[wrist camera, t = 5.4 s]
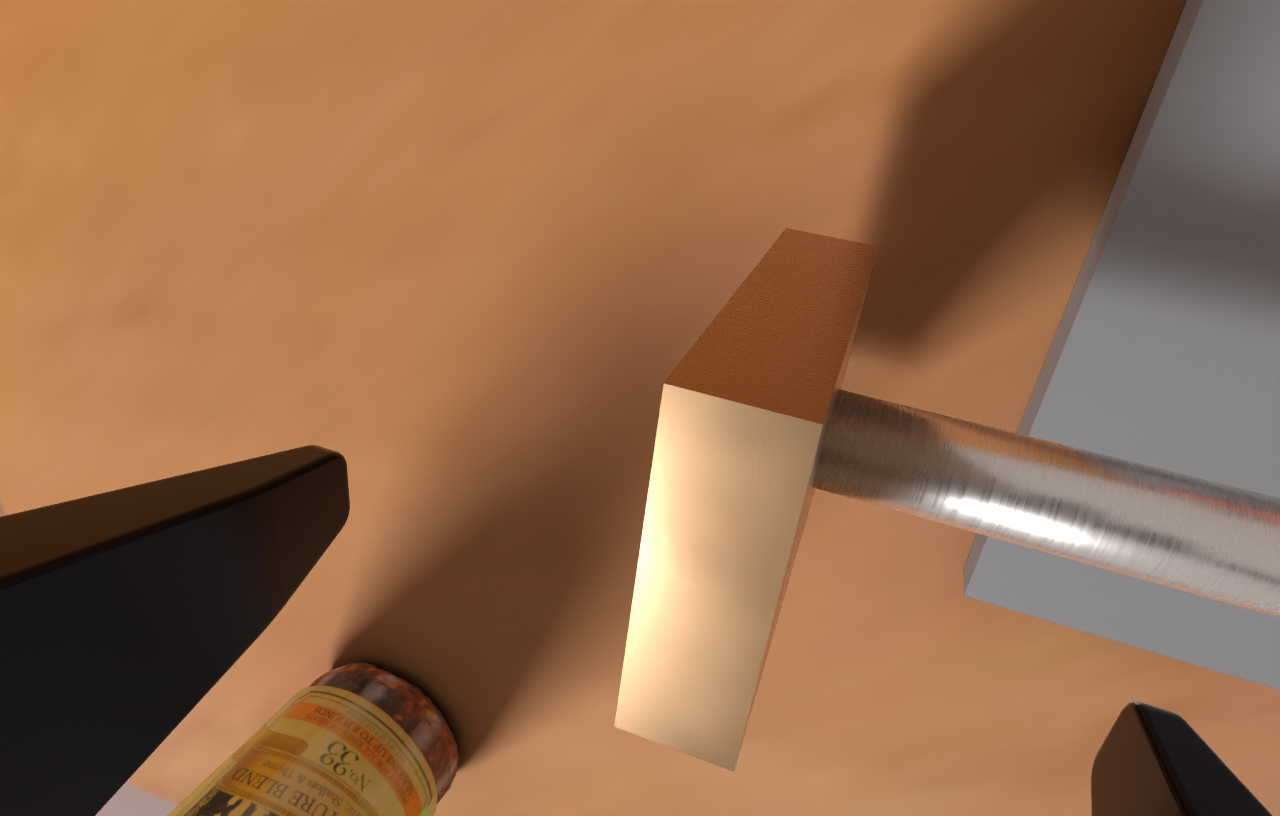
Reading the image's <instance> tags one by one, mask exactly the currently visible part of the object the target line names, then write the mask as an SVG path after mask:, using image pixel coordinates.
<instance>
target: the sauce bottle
mask: <svg viewBox="0 0 1280 816" xmlns="http://www.w3.org/2000/svg"><path fill="white" fill-rule="evenodd" d="M458 762H459V754H458V748H457V745H456V742H455V739H454V736H453V734H452V732H451V730H450V729H449V727H448V724H447V722H446V721H445V719H444V717H443V716H442V714H441V712H440V711H439V710H438V709H437V708H436V707H435V706H434V705H433V704H432V702H431V700H430V699H429V698H428V697H427V696H425V695H424V694H423V693H422V692H421V690H420V689H419V688H418V687H416V686H414V685H412V684H410V683H409V682H407V681H406V680H404V679H402V678H399V677H397V676H394V675H393V674H392V673H390V672H387V671H385V670H382V669H379V668H377V667H376V666H375V665H373V664H367V663H365V662H356V663H354V662H351V663H349V664H346V665H344V666H342V667H339V668H335V669H334V670H332V671H330V672H327V673H325V674H323V675H322V676H321V677H319V678H318V679H317V680H315V681H314V682H313V683H312V684H311V685H310V686H309V687H307V688H305V689H303V690H301V691H299V692H298V693H297V694H296V695H295V696H293V697H292V698H291V699H290V700H289V701H288V702H287V703H286V704H285V705H284V706H283V707H282V708H281V709H280V710H279V711H278V712H277V713H275V714H274V715H273V716H272V717H271V718H270V719H269V720H268V721H267V722H266V723H265V724H264V725H263V726H262V727H261V728H260V729H259V730H258V731H257V732H256V733H255V734H254V735H253V736H252V737H250V738H249V739H248V740H247V741H246V742H245V743H244V744H243V745H242V746H241V747H240V748H239V749H238V750H237V751H236V752H235V753H234V754H233V755H231V756H230V757H229V758H228V759H227V760H226V761H225V762H224V763H223V764H222V765H221V766H220V767H218V768H217V769H216V770H215V771H214V772H213V773H212V774H211V775H210V776H209V777H208V778H207V779H206V780H205V781H204V782H203V783H201V784H200V785H199V786H198V787H197V788H196V789H195V790H194V791H193V792H192V793H191V794H190V795H189V796H188V797H187V798H186V799H185V800H184V801H182V802H181V803H180V804H179V805H178V806H177V807H176V808H175V809H174V810H173V811H172V812H171V813H170V814H169V815H168V816H433V814H434V812H435V809H436V805H437V804H438V802H439V801H440V800H441V798H442V797H443V796H444V795H445V793H446V792H447V791H448V790H449V788H450V787H451V784H452V782H453V779H454V777H455V775H456V772H457V768H458Z"/></svg>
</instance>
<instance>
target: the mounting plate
mask: <svg viewBox="0 0 1280 816" xmlns="http://www.w3.org/2000/svg"><path fill="white" fill-rule="evenodd" d="M1017 433H1018V434H1022V435H1026V436H1030V437H1034V438H1038V439H1042V440H1046V441H1050V442H1054V443H1058V444H1062V445H1066V446H1070V447H1074V448H1079V449H1083V450H1087V451H1091V452H1095V453H1099V454H1103V455H1107V456H1111V457H1115V458H1119V459H1123V460H1127V461H1131V462H1135V463H1139V464H1143V465H1147V466H1151V467H1155V468H1160V469H1164V470H1168V471H1172V472H1176V473H1180V474H1184V475H1188V476H1192V477H1196V478H1200V479H1204V480H1208V481H1212V482H1216V483H1220V484H1224V485H1228V486H1232V487H1236V488H1240V489H1245V490H1249V491H1253V492H1257V493H1261V494H1265V495H1269V496H1273V497H1277V498H1280V0H1187V2H1186V4H1185V7H1184V9H1183V12H1182V14H1181V17H1180V19H1179V22H1178V24H1177V27H1176V30H1175V32H1174V35H1173V37H1172V40H1171V42H1170V45H1169V47H1168V50H1167V52H1166V55H1165V58H1164V60H1163V63H1162V65H1161V68H1160V70H1159V73H1158V75H1157V78H1156V80H1155V83H1154V86H1153V88H1152V91H1151V93H1150V96H1149V98H1148V101H1147V103H1146V106H1145V108H1144V111H1143V113H1142V116H1141V119H1140V121H1139V124H1138V126H1137V129H1136V131H1135V134H1134V136H1133V139H1132V141H1131V144H1130V147H1129V149H1128V152H1127V154H1126V157H1125V159H1124V162H1123V164H1122V167H1121V169H1120V172H1119V175H1118V177H1117V180H1116V182H1115V185H1114V187H1113V190H1112V192H1111V195H1110V197H1109V200H1108V202H1107V205H1106V208H1105V210H1104V213H1103V215H1102V218H1101V220H1100V223H1099V225H1098V228H1097V230H1096V233H1095V236H1094V238H1093V241H1092V243H1091V246H1090V248H1089V251H1088V253H1087V256H1086V258H1085V261H1084V264H1083V266H1082V269H1081V271H1080V274H1079V276H1078V279H1077V281H1076V284H1075V286H1074V289H1073V291H1072V294H1071V297H1070V299H1069V302H1068V304H1067V307H1066V309H1065V312H1064V314H1063V317H1062V319H1061V322H1060V325H1059V327H1058V330H1057V332H1056V335H1055V337H1054V340H1053V342H1052V345H1051V347H1050V350H1049V353H1048V355H1047V358H1046V360H1045V363H1044V365H1043V368H1042V370H1041V373H1040V375H1039V378H1038V381H1037V383H1036V386H1035V388H1034V391H1033V393H1032V396H1031V398H1030V401H1029V403H1028V406H1027V408H1026V411H1025V414H1024V416H1023V419H1022V421H1021V424H1020V426H1019V429H1018V431H1017ZM963 572H964V596H967V597H970V598H974V599H977V600H980V601H984V602H987V603H990V604H994V605H997V606H1001V607H1004V608H1007V609H1011V610H1014V611H1017V612H1021V613H1024V614H1027V615H1031V616H1034V617H1037V618H1041V619H1044V620H1047V621H1051V622H1054V623H1057V624H1061V625H1064V626H1067V627H1071V628H1074V629H1077V630H1081V631H1084V632H1087V633H1091V634H1094V635H1097V636H1101V637H1104V638H1108V639H1111V640H1114V641H1118V642H1121V643H1124V644H1128V645H1131V646H1134V647H1138V648H1141V649H1144V650H1148V651H1151V652H1154V653H1158V654H1161V655H1164V656H1168V657H1171V658H1174V659H1178V660H1181V661H1184V662H1188V663H1191V664H1194V665H1198V666H1201V667H1204V668H1208V669H1211V670H1215V671H1218V672H1221V673H1225V674H1228V675H1231V676H1235V677H1238V678H1241V679H1245V680H1248V681H1251V682H1255V683H1258V684H1261V685H1265V686H1268V687H1271V688H1275V689H1278V690H1280V618H1279V617H1275V616H1271V615H1268V614H1264V613H1261V612H1257V611H1254V610H1250V609H1246V608H1243V607H1239V606H1236V605H1232V604H1228V603H1225V602H1221V601H1218V600H1214V599H1211V598H1207V597H1203V596H1200V595H1196V594H1193V593H1189V592H1186V591H1182V590H1178V589H1175V588H1171V587H1168V586H1164V585H1160V584H1157V583H1153V582H1150V581H1146V580H1143V579H1139V578H1135V577H1132V576H1128V575H1125V574H1121V573H1118V572H1114V571H1110V570H1107V569H1103V568H1100V567H1096V566H1092V565H1089V564H1085V563H1082V562H1078V561H1075V560H1071V559H1067V558H1064V557H1060V556H1057V555H1053V554H1050V553H1046V552H1042V551H1039V550H1035V549H1032V548H1028V547H1025V546H1021V545H1017V544H1014V543H1010V542H1007V541H1003V540H999V539H996V538H992V537H989V536H985V535H982V534H978V533H977V536H976V538H975V541H974V543H973V546H972V548H971V551H970V553H969V556H968V559H967V561H966V564H965V566H964V569H963Z"/></svg>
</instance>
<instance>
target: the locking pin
mask: <svg viewBox="0 0 1280 816" xmlns="http://www.w3.org/2000/svg"><path fill="white" fill-rule="evenodd" d="M877 251H878V247H877V246H872V245H867V244H862V243H857V242H852V241H847V240H842V239H837V238H832V237H827V236H822V235H817V234H812V233H807V232H802V231H797V230H792V229H788V228H786V229H785V230H784V232H783V233H782V234H781V235H780V237H779V238H778V239H777V241H776V242H775V243H774V244H773V246H772V247H771V248H770V249H769V251H768V252H767V253H766V254H765V256H764V257H763V258H762V260H761V261H760V262H759V263H758V265H757V266H756V267H755V268H754V270H753V271H752V272H751V273H750V275H749V276H748V277H747V279H746V280H745V281H744V282H743V284H742V285H741V286H740V287H739V289H738V290H737V291H736V292H735V294H734V295H733V296H732V298H731V299H730V300H729V301H728V303H727V304H726V305H725V306H724V308H723V309H722V310H721V311H720V313H719V314H718V315H717V316H716V318H715V319H714V320H713V322H712V323H711V324H710V325H709V327H708V328H707V329H706V330H705V332H704V333H703V334H702V335H701V337H700V338H699V339H698V341H697V342H696V343H695V344H694V346H693V347H692V348H691V349H690V351H689V352H688V353H687V354H686V356H685V357H684V358H683V360H682V361H681V362H680V363H679V365H678V366H677V367H676V368H675V370H674V371H673V372H672V373H671V375H670V376H669V377H668V379H667V380H666V381H665V382H664V385H663V392H662V399H661V406H660V413H659V420H658V427H657V434H656V441H655V448H654V455H653V462H652V469H651V476H650V482H649V489H648V496H647V503H646V510H645V517H644V524H643V531H642V538H641V545H640V552H639V559H638V566H637V573H636V580H635V587H634V594H633V601H632V608H631V615H630V622H629V629H628V636H627V643H626V650H625V657H624V664H623V671H622V678H621V685H620V692H619V699H618V706H617V713H616V720H615V727H617V728H619V729H622V730H625V731H627V732H630V733H633V734H635V735H638V736H641V737H643V738H646V739H649V740H651V741H654V742H657V743H659V744H662V745H665V746H667V747H670V748H672V749H675V750H678V751H680V752H683V753H686V754H688V755H691V756H694V757H696V758H699V759H702V760H704V761H707V762H710V763H712V764H715V765H718V766H720V767H723V768H726V769H728V770H731V771H733V772H734V769H735V766H736V762H737V759H738V755H739V752H740V748H741V745H742V741H743V738H744V734H745V731H746V727H747V724H748V720H749V717H750V713H751V710H752V706H753V703H754V699H755V696H756V692H757V689H758V685H759V682H760V679H761V675H762V672H763V668H764V665H765V661H766V658H767V654H768V651H769V647H770V644H771V640H772V637H773V633H774V630H775V626H776V623H777V619H778V616H779V612H780V609H781V605H782V602H783V598H784V595H785V591H786V588H787V584H788V581H789V577H790V574H791V571H792V567H793V564H794V560H795V557H796V553H797V550H798V546H799V543H800V539H801V536H802V532H803V529H804V525H805V522H806V518H807V515H808V511H809V508H810V504H811V501H812V497H813V494H814V490H815V488H817V489H821V490H824V491H828V492H831V493H835V494H838V495H842V496H846V497H849V498H853V499H856V500H860V501H863V502H867V503H871V504H874V505H878V506H881V507H885V508H889V509H892V510H896V511H899V512H903V513H906V514H910V515H914V516H917V517H921V518H924V519H928V520H931V521H935V522H939V523H942V524H946V525H949V526H953V527H957V528H960V529H964V530H967V531H971V532H974V533H978V534H982V535H985V536H989V537H992V538H996V539H999V540H1003V541H1007V542H1010V543H1014V544H1017V545H1021V546H1025V547H1028V548H1032V549H1035V550H1039V551H1042V552H1046V553H1050V554H1053V555H1057V556H1060V557H1064V558H1067V559H1071V560H1075V561H1078V562H1082V563H1085V564H1089V565H1092V566H1096V567H1100V568H1103V569H1107V570H1110V571H1114V572H1118V573H1121V574H1125V575H1128V576H1132V577H1135V578H1139V579H1143V580H1146V581H1150V582H1153V583H1157V584H1160V585H1164V586H1168V587H1171V588H1175V589H1178V590H1182V591H1186V592H1189V593H1193V594H1196V595H1200V596H1203V597H1207V598H1211V599H1214V600H1218V601H1221V602H1225V603H1228V604H1232V605H1236V606H1239V607H1243V608H1246V609H1250V610H1254V611H1257V612H1261V613H1264V614H1268V615H1271V616H1275V617H1279V618H1280V498H1277V497H1273V496H1269V495H1265V494H1261V493H1257V492H1253V491H1249V490H1245V489H1240V488H1236V487H1232V486H1228V485H1224V484H1220V483H1216V482H1212V481H1208V480H1204V479H1200V478H1196V477H1192V476H1188V475H1184V474H1180V473H1176V472H1172V471H1168V470H1164V469H1160V468H1155V467H1151V466H1147V465H1143V464H1139V463H1135V462H1131V461H1127V460H1123V459H1119V458H1115V457H1111V456H1107V455H1103V454H1099V453H1095V452H1091V451H1087V450H1083V449H1079V448H1074V447H1070V446H1066V445H1062V444H1058V443H1054V442H1050V441H1046V440H1042V439H1038V438H1034V437H1030V436H1026V435H1022V434H1018V433H1014V432H1010V431H1006V430H1002V429H998V428H994V427H989V426H985V425H981V424H977V423H973V422H969V421H965V420H961V419H957V418H953V417H949V416H945V415H941V414H937V413H933V412H929V411H925V410H921V409H917V408H913V407H909V406H904V405H900V404H896V403H892V402H888V401H884V400H880V399H876V398H872V397H868V396H864V395H860V394H856V393H852V392H848V391H844V390H841V388H842V384H843V380H844V376H845V373H846V369H847V365H848V361H849V357H850V354H851V350H852V346H853V342H854V338H855V335H856V331H857V327H858V323H859V319H860V316H861V312H862V308H863V304H864V301H865V297H866V293H867V289H868V285H869V282H870V278H871V274H872V270H873V266H874V263H875V259H876V255H877Z"/></svg>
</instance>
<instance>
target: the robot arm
mask: <svg viewBox="0 0 1280 816" xmlns="http://www.w3.org/2000/svg"><path fill="white" fill-rule="evenodd" d="M349 510H350V502H349V488H348V475H347V464H346V460H345V458H344V457H343V455H341V454H340V453H339V452H336V451H333V450H330V449H326V448H323V447H320V446H316V445H309V446H304V447H300V448H296V449H291V450H287V451H283V452H278V453H274V454H270V455H265V456H261V457H257V458H252V459H248V460H244V461H239V462H235V463H231V464H227V465H222V466H218V467H214V468H209V469H205V470H201V471H196V472H192V473H188V474H183V475H179V476H175V477H170V478H166V479H162V480H158V481H153V482H149V483H145V484H140V485H136V486H132V487H127V488H123V489H119V490H114V491H110V492H106V493H101V494H97V495H93V496H89V497H84V498H80V499H76V500H71V501H67V502H63V503H58V504H54V505H50V506H45V507H41V508H37V509H32V510H28V511H24V512H20V513H15V514H11V515H7V516H2V517H0V816H95V815H96V814H97V813H98V812H99V811H100V810H101V809H102V807H103V806H104V805H105V804H106V803H107V802H108V801H109V800H110V799H111V798H112V796H113V795H114V794H115V793H116V792H117V791H118V790H119V789H120V788H121V787H122V785H123V784H124V783H125V782H126V781H127V780H128V779H129V778H130V777H131V776H132V775H133V774H134V772H135V771H136V770H137V769H138V768H139V767H140V766H141V765H142V764H143V763H144V761H145V760H146V759H147V758H148V757H149V756H150V755H151V754H152V753H153V752H154V751H155V749H156V748H157V747H158V746H159V745H160V744H161V743H162V742H163V741H164V740H165V739H166V737H167V736H168V735H169V734H170V733H171V732H172V731H173V730H174V729H175V728H176V726H177V725H178V724H179V723H180V722H181V721H182V720H183V719H184V718H185V717H186V716H187V714H188V713H189V712H190V711H191V710H192V709H193V708H194V707H195V706H196V705H197V704H198V702H199V701H200V700H201V699H202V698H203V697H204V696H205V695H206V694H207V693H208V691H209V690H210V689H211V688H212V687H213V686H214V685H215V684H216V683H217V682H218V681H219V679H220V678H221V677H222V676H223V675H224V674H225V673H226V672H227V671H228V670H229V668H230V667H231V666H232V665H233V664H234V663H235V662H236V661H237V660H238V659H239V658H240V656H241V655H242V654H243V653H244V652H245V651H246V650H247V649H248V648H249V647H250V646H251V644H252V643H253V642H254V641H255V640H256V639H257V638H258V637H259V636H260V634H261V633H262V632H263V631H264V630H265V629H266V628H267V626H268V625H269V624H270V623H271V622H272V621H273V619H274V618H275V617H276V616H277V614H278V613H279V612H280V611H281V609H282V608H283V607H284V606H285V604H286V603H287V602H288V600H289V599H290V598H291V596H292V595H293V594H294V592H295V591H296V590H297V588H298V587H299V586H300V584H301V583H302V582H303V580H304V579H305V578H306V576H307V575H308V574H309V572H310V571H311V570H312V568H313V567H314V566H315V564H316V563H317V562H318V560H319V559H320V558H321V556H322V555H323V553H324V552H325V551H326V549H327V548H328V547H329V545H330V544H331V543H332V541H333V540H334V539H335V537H336V536H337V535H338V533H339V532H340V531H341V529H342V528H343V526H344V525H345V523H346V521H347V518H348V515H349ZM1091 798H1092V816H1272V815H1271V814H1270V813H1269V812H1268V811H1267V810H1266V808H1265V807H1264V806H1263V805H1262V804H1261V803H1260V802H1259V801H1258V800H1257V799H1256V798H1255V796H1254V795H1253V794H1252V793H1251V792H1250V791H1249V790H1248V789H1247V788H1246V787H1245V786H1244V784H1243V783H1242V782H1241V781H1240V780H1239V779H1238V778H1237V777H1236V776H1235V775H1234V774H1233V772H1232V771H1231V770H1230V769H1229V768H1228V767H1227V766H1226V765H1225V764H1224V763H1223V762H1222V760H1221V759H1220V758H1219V757H1218V756H1217V755H1216V754H1215V753H1214V752H1213V751H1212V750H1211V748H1210V747H1209V746H1208V745H1207V744H1206V743H1205V742H1204V741H1203V740H1202V739H1201V738H1200V736H1199V735H1198V734H1197V733H1196V732H1195V731H1194V730H1193V729H1192V728H1191V727H1190V726H1189V724H1188V723H1187V722H1186V721H1185V720H1184V719H1183V718H1182V717H1180V716H1179V715H1177V714H1175V713H1173V712H1170V711H1167V710H1163V709H1160V708H1157V707H1154V706H1150V705H1147V704H1144V703H1141V702H1132V703H1129V704H1128V705H1127V706H1125V708H1124V709H1123V710H1122V712H1121V713H1120V715H1119V717H1118V718H1117V720H1116V722H1115V724H1114V725H1113V727H1112V729H1111V731H1110V732H1109V734H1108V736H1107V738H1106V739H1105V741H1104V743H1103V744H1102V746H1101V748H1100V750H1099V751H1098V753H1097V755H1096V757H1095V760H1094V764H1093V768H1092V775H1091Z"/></svg>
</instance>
